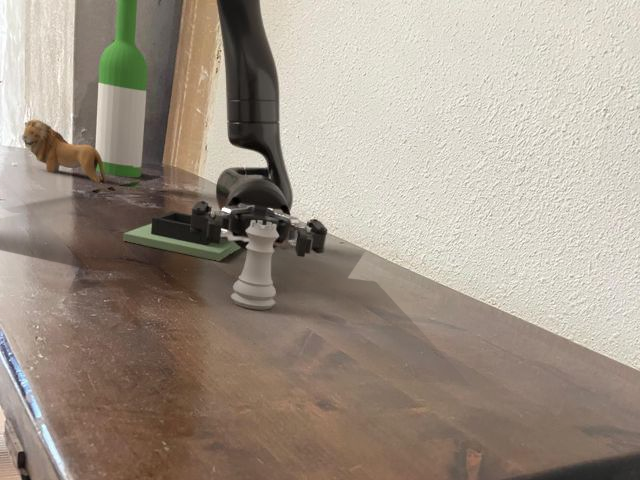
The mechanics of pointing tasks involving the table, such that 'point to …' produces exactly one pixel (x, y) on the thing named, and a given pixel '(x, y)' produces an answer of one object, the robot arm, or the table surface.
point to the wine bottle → (122, 99)
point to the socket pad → (179, 237)
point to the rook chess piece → (257, 269)
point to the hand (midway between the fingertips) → (260, 240)
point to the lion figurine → (61, 151)
